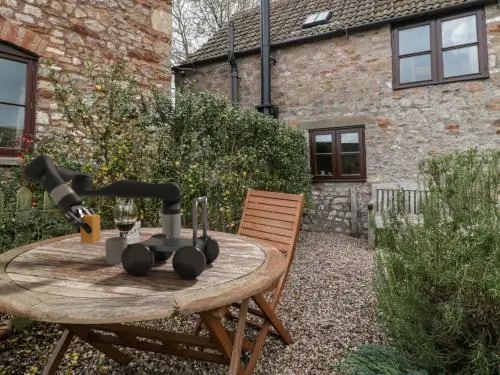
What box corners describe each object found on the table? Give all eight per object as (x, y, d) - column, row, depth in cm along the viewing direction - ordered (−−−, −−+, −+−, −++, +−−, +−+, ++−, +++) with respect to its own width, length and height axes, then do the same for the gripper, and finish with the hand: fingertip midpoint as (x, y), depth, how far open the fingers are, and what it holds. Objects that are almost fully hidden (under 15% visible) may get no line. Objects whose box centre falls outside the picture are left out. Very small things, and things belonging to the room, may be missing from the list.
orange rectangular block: (80, 242, 121) (80, 216, 121) (88, 239, 126) (88, 214, 125) (92, 243, 120) (92, 216, 120) (100, 240, 125) (100, 214, 124)
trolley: (121, 275, 120) (120, 197, 119) (148, 259, 141) (148, 194, 140) (204, 280, 115) (204, 199, 113) (219, 264, 136) (219, 195, 134)
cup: (110, 259, 141) (109, 237, 141) (129, 259, 142) (129, 236, 141) (103, 265, 133) (102, 241, 132) (123, 264, 133) (123, 240, 133)
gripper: (73, 203, 132) (100, 234, 130) (45, 207, 117) (75, 241, 116) (85, 190, 130) (112, 221, 129) (58, 193, 116) (89, 227, 115)
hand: (95, 230), depth 122 cm, fingers closed on orange rectangular block, 4 cm apart
